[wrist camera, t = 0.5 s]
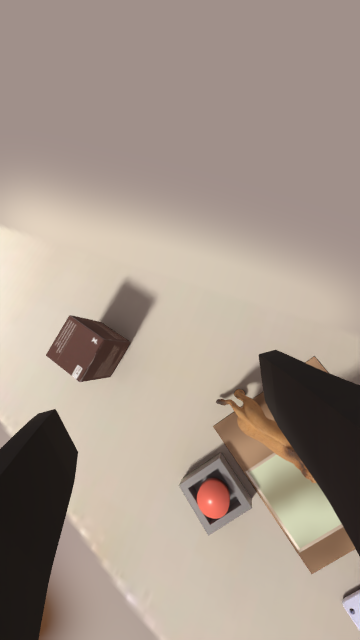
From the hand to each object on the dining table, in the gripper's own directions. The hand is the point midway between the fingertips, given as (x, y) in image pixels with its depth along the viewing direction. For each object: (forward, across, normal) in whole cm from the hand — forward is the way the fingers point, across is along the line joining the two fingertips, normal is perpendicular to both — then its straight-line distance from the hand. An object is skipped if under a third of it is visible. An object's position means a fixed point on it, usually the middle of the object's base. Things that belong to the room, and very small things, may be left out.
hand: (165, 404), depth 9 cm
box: (+28, +10, +10) cm, 32 cm away
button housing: (+15, -1, +26) cm, 30 cm away
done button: (+13, -1, +25) cm, 28 cm away
